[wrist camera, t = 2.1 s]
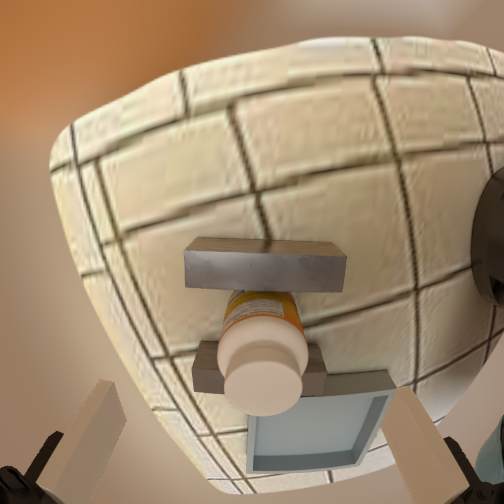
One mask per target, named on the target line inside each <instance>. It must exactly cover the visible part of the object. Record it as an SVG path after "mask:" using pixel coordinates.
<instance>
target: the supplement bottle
mask: <svg viewBox="0 0 504 504" xmlns="http://www.w3.org/2000/svg"><path fill="white" fill-rule="evenodd" d="M217 361H218V366H219V369H220V371H221V373H222V375H223V376H224V378H225V382H224V393H225V396H226V399H227V400H228V402H229V403H230V404H231V405H232V406H233V407H234V408H236V409H237V410H239V411H241V412H243V413H245V414H248V415H253V416H272V415H276V414H279V413H282V412H284V411H286V410H288V409H289V408H291V407H292V406H293V405H294V404H295V403H296V402H297V401H298V399H299V398H300V396H301V393H302V389H303V384H302V377H301V376H302V374H303V373H304V371H305V369H306V366H307V363H308V347H307V343H306V339H305V336H304V332H303V329H302V325H301V321H300V318H299V315H298V311H297V308H296V305H295V302H294V299H293V297H292V296H291V294H290V293H289V292H281V291H250V290H236V291H235V292H234V293H233V295H232V296H231V298H230V300H229V303H228V306H227V310H226V314H225V319H224V323H223V327H222V332H221V336H220V341H219V345H218V353H217Z"/></svg>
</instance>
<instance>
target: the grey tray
mask: <svg viewBox="0 0 504 504" xmlns="http://www.w3.org/2000/svg"><path fill="white" fill-rule="evenodd" d="M396 388H397V387H396V385H395V384H394V382H393V380H392V379H391V377H390V375H389V374H388V372H387V370H383V371H374V372H363V373H351V374H337V375H327V376H326V380H325V385H324V389H323V393H322V395H311V396H300V398H299V399H298V401H297V402H296V403H295V404H294V405H293V406H292V407H291V408H289V409H288V410H286V411H284V412H282V413H279V414H276V415H272V416H253V415H249V416H248V440H247V464H246V473H250V474H284V473H304V472H316V471H326V470H335V469H342V468H349V467H355V466H360V464H361V462H362V460H363V459H364V457H365V455H366V453H367V451H368V450H369V448H370V446H371V444H372V442H373V440H374V438H375V436H376V434H377V432H378V430H379V428H380V424H381V422H382V419H383V417H384V415H385V413H386V411H387V409H388V406H389V404H390V402H391V399H392V397H393V395H394V392H395V390H396Z"/></svg>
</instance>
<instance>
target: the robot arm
mask: <svg viewBox="0 0 504 504" xmlns="http://www.w3.org/2000/svg"><path fill="white" fill-rule="evenodd" d="M471 255H472V269H473V275H474V279H475V282H476V285H477V287H478V289H479V291H480V293H481V294H482V296H483V297H484V298H486V299H487V300H488V301H490V302H492V303H493V304H495V305H496V306H498V307H500V308H502V309H504V168H502V169H500V170H499V171H497V172H496V173H495V174H494V176H493V177H492V178H491V179H490V181H489V183H488V184H487V186H486V188H485V190H484V192H483V194H482V197H481V200H480V202H479V206H478V209H477V213H476V217H475V222H474V228H473V235H472V250H471ZM126 421H127V420H126V417H125V414H124V412H123V409H122V406H121V403H120V400H119V397H118V394H117V391H116V388H115V384H114V382H111V381H107V380H102V379H100V380H99V381H98V383H97V384H96V386H95V387H94V389H93V390H92V392H91V393H90V395H89V396H88V398H87V399H86V401H85V402H84V404H83V406H82V407H81V409H80V410H79V412H78V413H77V415H76V416H75V418H74V419H73V421H72V423H71V424H70V426H69V427H68V429H67V431H66V432H65V434H63V433H61V432H59V431H56V432H54V433H53V434H52V435H50V436H49V437H48V438H47V440H46V441H45V443H44V445H43V447H42V448H41V449H40V451H39V453H38V454H37V456H36V457H35V459H34V460H33V462H32V464H31V465H30V467H29V469H28V470H27V472H26V474H25V475H24V476H23V475H21V473H20V472H19V471H18V470H17V469H16V468H14V467H12V466H4V467H2V468H1V469H0V504H91V501H92V498H93V496H94V494H95V491H96V489H97V487H98V484H99V482H100V479H101V477H102V474H103V472H104V470H105V468H106V465H107V463H108V461H109V458H110V456H111V454H112V451H113V449H114V447H115V445H116V443H117V440H118V438H119V436H120V434H121V431H122V429H123V427H124V425H125V423H126ZM380 426H381V429H382V431H383V433H384V435H385V438H386V440H387V442H388V444H389V447H390V449H391V451H392V454H393V456H394V458H395V460H396V463H397V465H398V467H399V470H400V472H401V475H402V477H403V480H404V482H405V484H406V487H407V489H408V492H409V494H410V497H411V499H412V502H413V504H504V415H503V416H502V418H501V419H500V421H499V424H498V426H497V427H496V429H495V430H494V431H493V433H492V434H491V435H490V437H489V438H488V439H487V441H486V442H485V443H484V444H483V446H482V447H481V449H480V451H479V453H478V456H477V459H476V463H475V468H474V469H473V467H472V466H471V464H470V462H469V461H468V459H467V458H466V456H465V454H464V452H462V449H461V448H460V446H459V444H458V443H457V442H456V441H455V440H454V439H452V438H451V437H446V438H444V439H443V438H442V436H441V435H440V433H439V431H438V430H437V428H436V426H435V425H434V423H433V422H432V420H431V418H430V417H429V415H428V414H427V412H426V411H425V409H424V407H423V406H422V404H421V403H420V401H419V400H418V398H417V397H416V395H415V394H414V392H413V390H412V389H411V387H410V386H404V387H398V388H396V390H395V392H394V395H393V397H392V399H391V402H390V404H389V406H388V409H387V411H386V413H385V415H384V417H383V419H382V422H381V424H380Z"/></svg>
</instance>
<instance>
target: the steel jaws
mask: <svg viewBox="0 0 504 504" xmlns="http://www.w3.org/2000/svg"><path fill="white" fill-rule="evenodd" d="M346 259H347V256H346V255H345V254H344V253H342V252H341V251H340V250H339V249H338V248H337V247H336V246H335V245H333V244H332V243H331V242H308V241H283V240H257V239H228V238H196V239H195V240H194V241H193V242H192V243H191V244H190V245H189V246H188V247H187V248H186V249H185V250H184V262H185V286H186V287H188V288H206V289H226V290H250V291H281V292H342V289H343V282H344V275H345V267H346ZM218 345H219V342H211V341H201V342H200V345H199V348H198V351H197V354H196V357H195V360H194V363H193V366H192V377H193V386H194V392H203V393H214V394H225V393H224V382H225V378H224V376H223V375H222V373H221V371H220V369H219V366H218V361H217V353H218ZM307 347H308V363H307V366H306V369H305V371H304V373H303V374H302V376H301V377H302V384H303V389H302V393H301V396H311V395H322V393H323V389H324V385H325V380H326V376H327V370H326V367H325V364H324V361H323V358H322V355H321V352H320V349H319V346H318V344H307Z"/></svg>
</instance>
